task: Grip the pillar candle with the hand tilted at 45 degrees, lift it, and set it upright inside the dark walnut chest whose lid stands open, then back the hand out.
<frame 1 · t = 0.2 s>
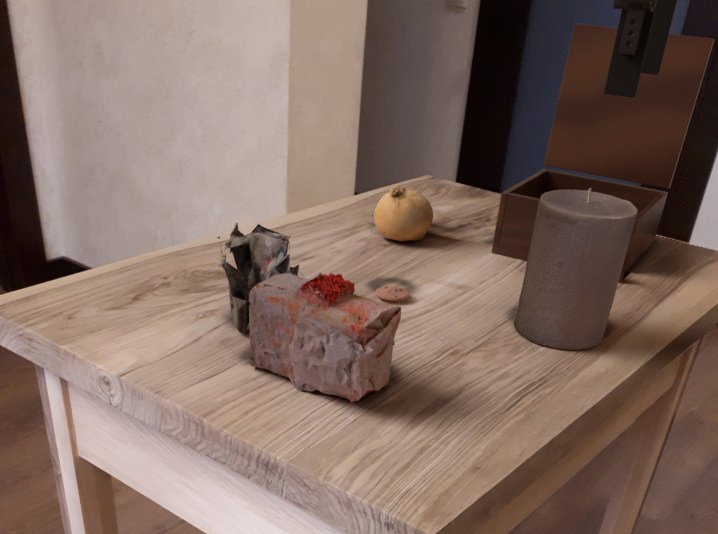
hand: (632, 83, 77), 24 cm above the table, tool pointing down, fingers open, 13 cm apart
cookie: (391, 298, 92), on the table
chest: (573, 250, 109), on the table
chest lid: (622, 106, 106), point 17 cm above the table, hinge at 95.0°
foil: (268, 312, 87), on the table
food item: (320, 381, 74), on the table
pillar candle: (558, 333, 87), on the table
onion: (401, 239, 109), on the table
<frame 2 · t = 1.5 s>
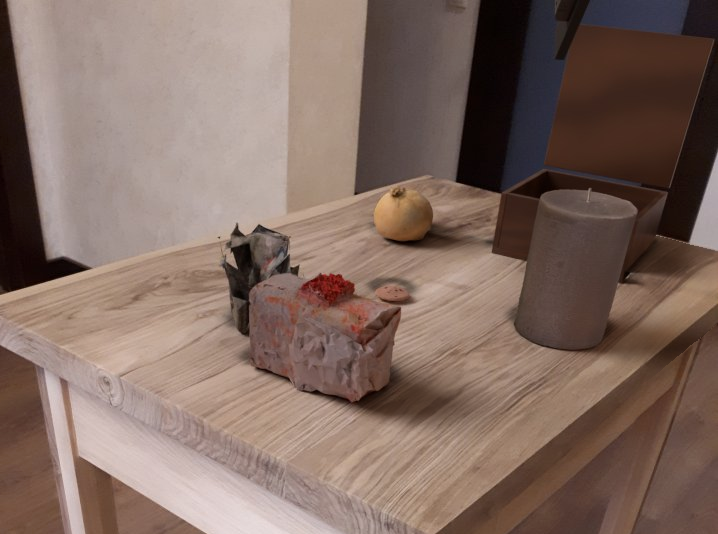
hand: (641, 51, 65), 28 cm above the table, tool tilted 45°, fingers open, 13 cm apart
nothing on the table moved.
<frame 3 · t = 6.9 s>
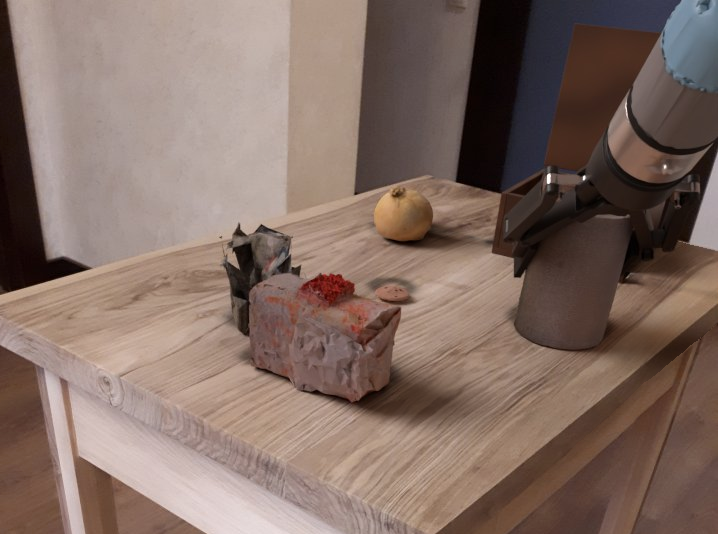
hand: (564, 268, 85), 6 cm above the table, tool tilted 45°, fingers closed on pillar candle, 9 cm apart
pillar candle: (558, 333, 87), on the table, touching gripper
everything else where it was.
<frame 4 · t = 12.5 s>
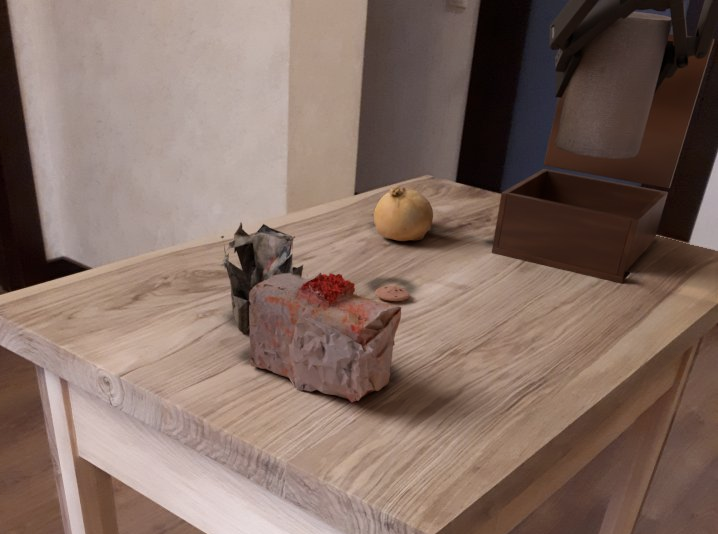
hand: (601, 89, 92), 21 cm above the table, tool tilted 45°, fingers closed on pillar candle, 9 cm apart
pillar candle: (596, 151, 93), point 15 cm above the table, touching gripper
everything else where it was.
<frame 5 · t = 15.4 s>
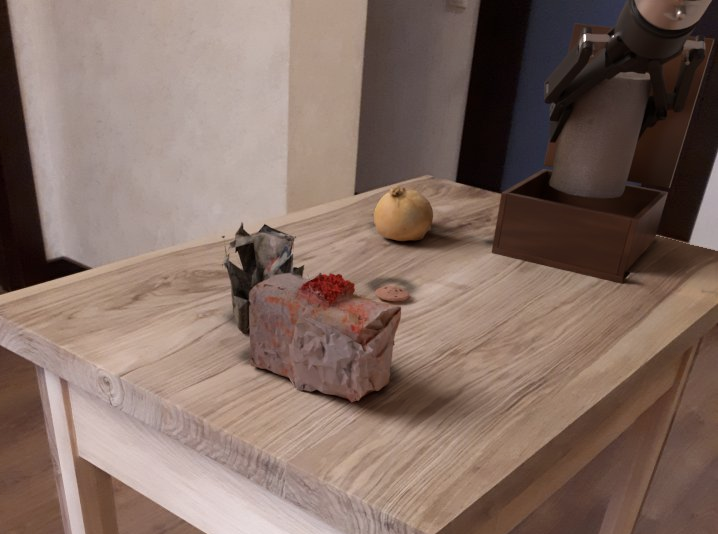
hand: (591, 135, 103), 14 cm above the table, tool tilted 45°, fingers closed on pillar candle, 9 cm apart
pillar candle: (586, 190, 104), point 8 cm above the table, touching gripper
everything else where it was.
when the fingers open (7 cm above the table, at t = 18.0 s): pillar candle stays where it is, resting on chest.
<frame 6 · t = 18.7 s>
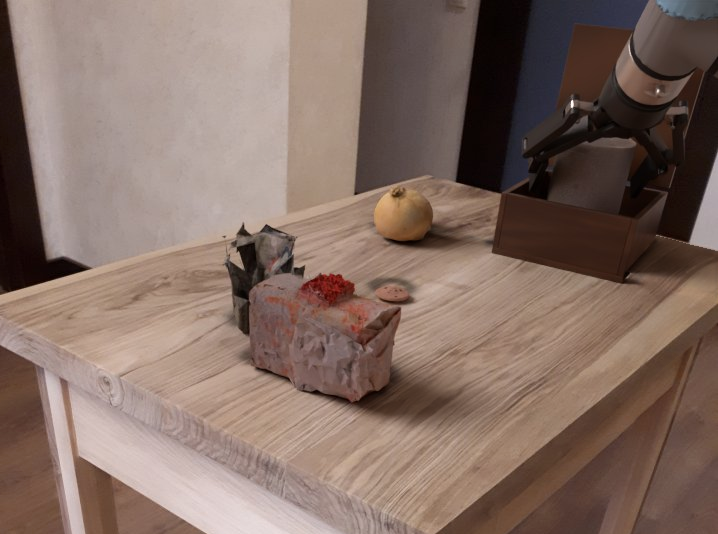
hand: (582, 186, 106), 8 cm above the table, tool tilted 45°, fingers open, 13 cm apart
pillar candle: (573, 247, 108), point 1 cm above the table, touching chest
everything else where it was.
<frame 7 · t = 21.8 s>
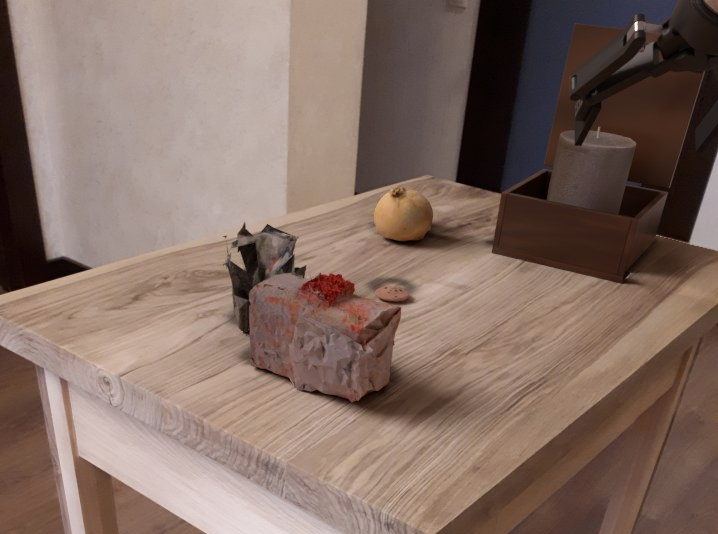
hand: (638, 138, 89), 17 cm above the table, tool tilted 45°, fingers open, 13 cm apart
nothing on the table moved.
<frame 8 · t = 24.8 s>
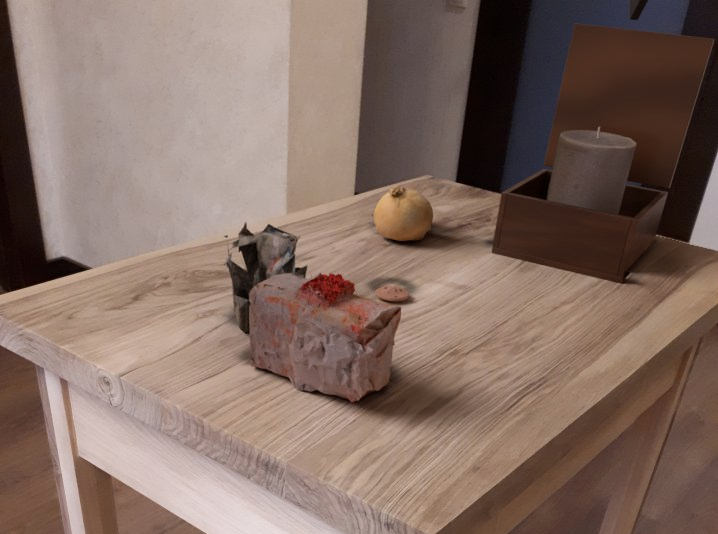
hand: (703, 12, 76), 30 cm above the table, tool tilted 45°, fingers open, 13 cm apart
nothing on the table moved.
at the end: pillar candle inside the target area in the chest (0.5 cm from its centre), point 0.6 cm above the chest's base; pillar candle tilted 0°; the gripper is holding nothing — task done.
